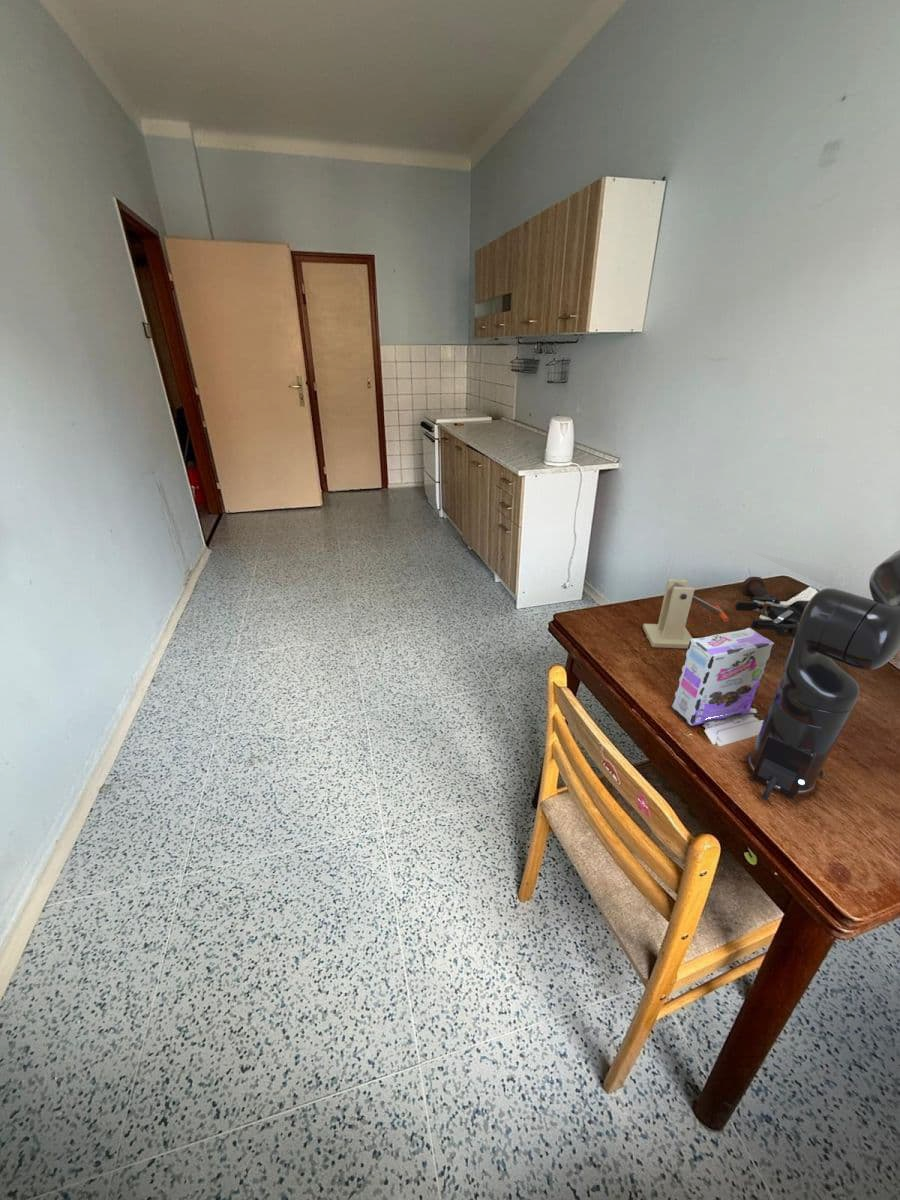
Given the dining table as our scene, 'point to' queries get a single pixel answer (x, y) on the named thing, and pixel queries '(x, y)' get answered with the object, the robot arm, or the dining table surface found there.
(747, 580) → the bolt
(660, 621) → the bracket
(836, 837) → the dining table surface
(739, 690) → the candy box
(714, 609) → the lever
